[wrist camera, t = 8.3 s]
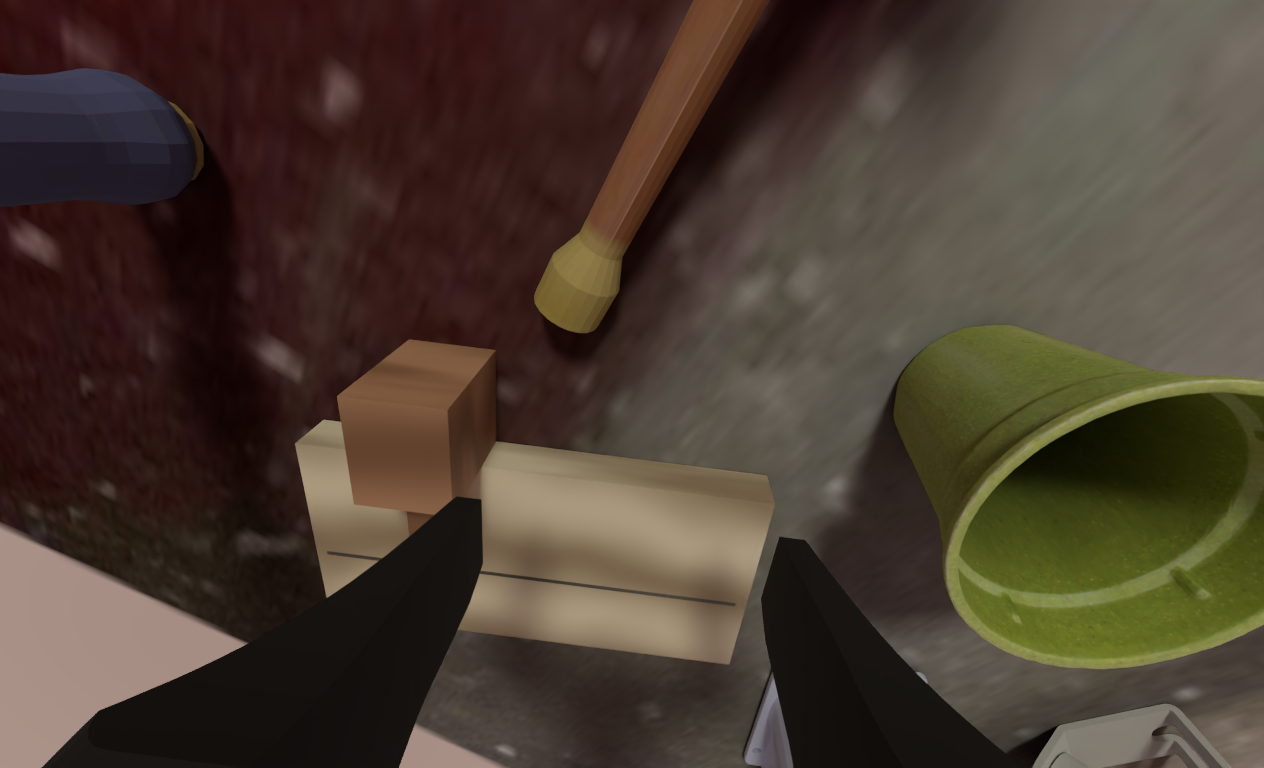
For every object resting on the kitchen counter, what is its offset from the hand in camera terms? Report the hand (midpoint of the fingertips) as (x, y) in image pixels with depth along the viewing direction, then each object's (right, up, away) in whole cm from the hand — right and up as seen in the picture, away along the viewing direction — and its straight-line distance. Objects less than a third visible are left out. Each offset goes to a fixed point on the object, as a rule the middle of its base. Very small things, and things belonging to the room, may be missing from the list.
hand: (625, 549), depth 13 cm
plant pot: (+14, +4, +9) cm, 17 cm away
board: (-4, -3, +13) cm, 14 cm away
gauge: (-8, 0, +11) cm, 14 cm away
